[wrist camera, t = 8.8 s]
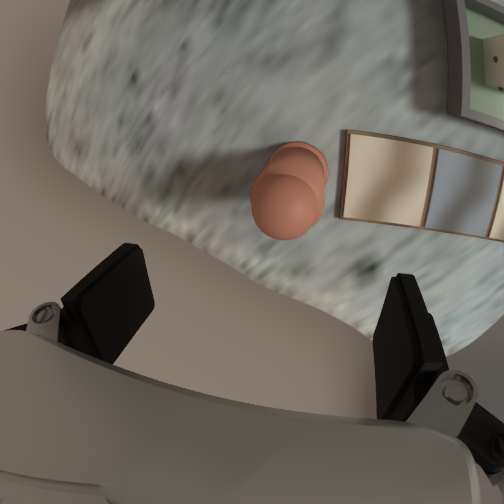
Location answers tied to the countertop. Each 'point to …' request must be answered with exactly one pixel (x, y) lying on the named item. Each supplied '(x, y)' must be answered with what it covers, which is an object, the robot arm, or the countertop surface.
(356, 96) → the countertop surface
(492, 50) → the die
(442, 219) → the track
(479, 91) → the tray
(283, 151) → the pink cylinder
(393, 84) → the countertop surface
